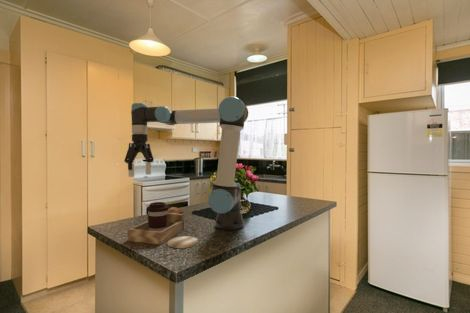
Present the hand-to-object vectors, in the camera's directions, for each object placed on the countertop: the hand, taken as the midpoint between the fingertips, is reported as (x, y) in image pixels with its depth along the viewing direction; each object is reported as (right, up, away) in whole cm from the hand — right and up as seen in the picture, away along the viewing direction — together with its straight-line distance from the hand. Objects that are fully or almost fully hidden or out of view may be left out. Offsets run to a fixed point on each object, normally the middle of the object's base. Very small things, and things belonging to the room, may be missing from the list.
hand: (140, 175), depth 132 cm
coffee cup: (+12, -27, -11) cm, 32 cm away
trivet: (+26, -27, -21) cm, 43 cm away
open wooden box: (+12, -27, -11) cm, 32 cm away
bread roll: (+12, -27, +22) cm, 37 cm away
